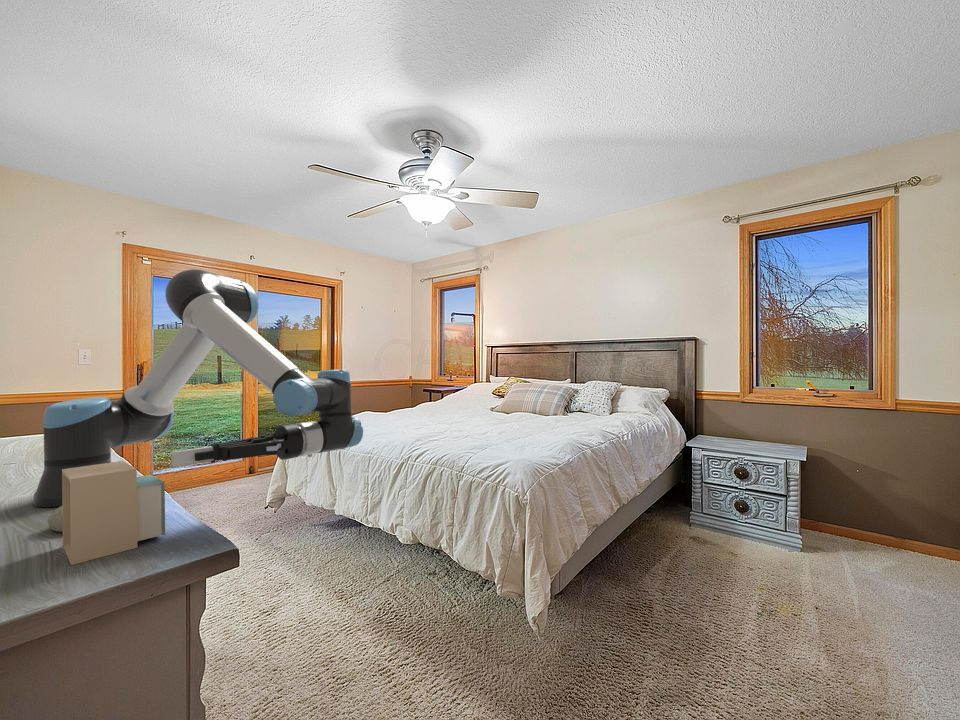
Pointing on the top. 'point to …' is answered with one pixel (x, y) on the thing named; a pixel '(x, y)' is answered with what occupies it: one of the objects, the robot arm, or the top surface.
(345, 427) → the robot arm
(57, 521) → the sea urchin shell
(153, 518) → the drawer box
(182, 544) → the top surface
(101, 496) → the sleeve
